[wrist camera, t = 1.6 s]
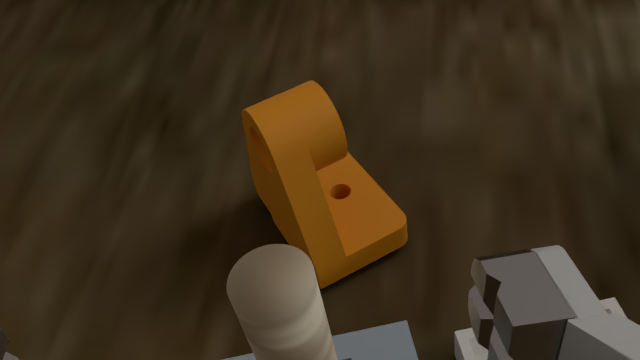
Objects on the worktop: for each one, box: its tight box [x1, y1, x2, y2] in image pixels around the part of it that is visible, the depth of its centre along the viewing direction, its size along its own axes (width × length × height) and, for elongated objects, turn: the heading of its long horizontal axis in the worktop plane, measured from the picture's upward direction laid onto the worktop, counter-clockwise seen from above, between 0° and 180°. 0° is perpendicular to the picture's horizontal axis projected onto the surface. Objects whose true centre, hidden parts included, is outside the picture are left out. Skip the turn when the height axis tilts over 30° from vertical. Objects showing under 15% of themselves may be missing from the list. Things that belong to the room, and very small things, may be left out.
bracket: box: [242, 81, 408, 289], centre depth 41 cm, size 11×7×12 cm, turn 27°
